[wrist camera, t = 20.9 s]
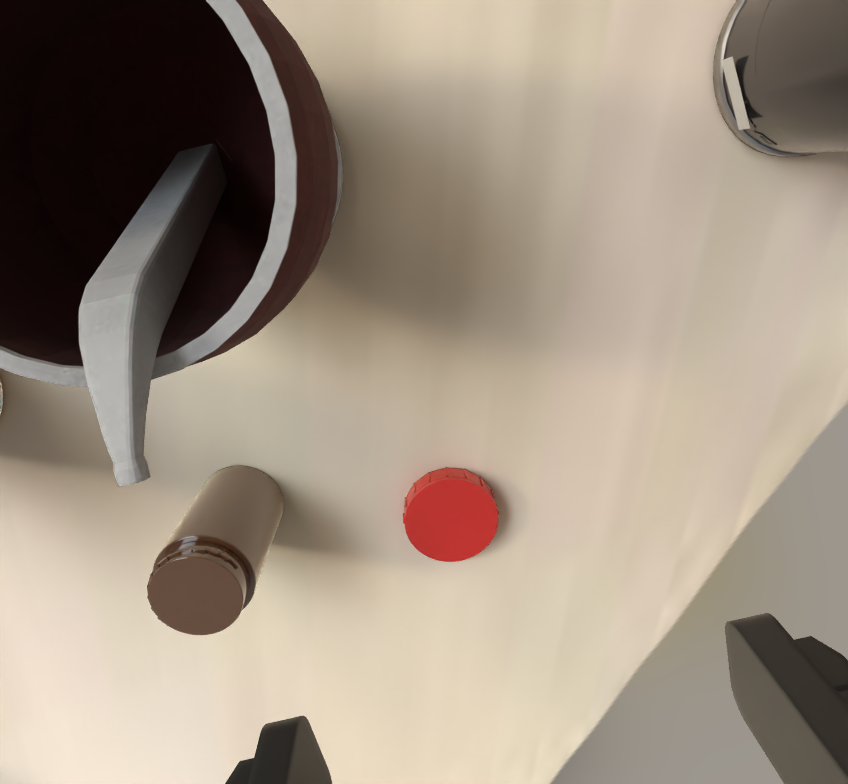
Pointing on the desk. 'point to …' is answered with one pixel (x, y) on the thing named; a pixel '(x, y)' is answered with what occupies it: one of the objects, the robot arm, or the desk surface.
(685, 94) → the desk surface
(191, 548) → the jar
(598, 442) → the desk surface
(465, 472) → the lid
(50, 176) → the mate gourd
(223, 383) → the desk surface
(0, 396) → the blue labeled canister
